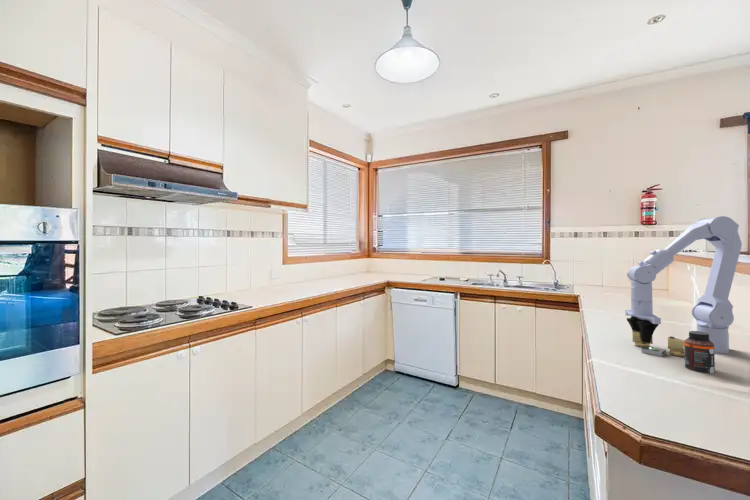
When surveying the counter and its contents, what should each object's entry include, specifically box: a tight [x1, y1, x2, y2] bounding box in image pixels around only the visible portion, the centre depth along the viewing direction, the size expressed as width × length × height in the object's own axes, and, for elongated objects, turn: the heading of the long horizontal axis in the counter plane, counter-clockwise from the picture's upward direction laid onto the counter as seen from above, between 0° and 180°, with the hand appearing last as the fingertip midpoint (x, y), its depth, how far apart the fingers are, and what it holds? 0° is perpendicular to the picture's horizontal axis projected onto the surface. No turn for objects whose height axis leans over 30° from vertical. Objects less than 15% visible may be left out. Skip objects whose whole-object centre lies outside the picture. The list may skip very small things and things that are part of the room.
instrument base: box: [641, 346, 667, 358], centre depth 108 cm, size 12×16×3 cm
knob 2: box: [667, 335, 685, 358], centre depth 104 cm, size 5×4×5 cm
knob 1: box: [631, 330, 654, 348], centre depth 114 cm, size 5×4×5 cm
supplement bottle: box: [684, 330, 716, 374], centre depth 92 cm, size 6×6×11 cm
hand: (642, 340), depth 114 cm, fingers closed on knob 1, 3 cm apart
